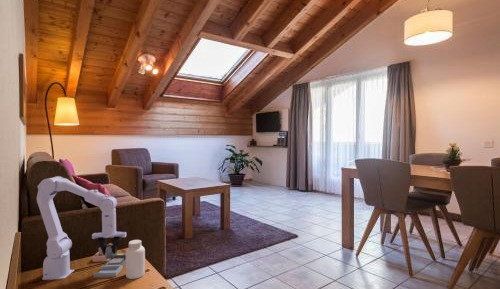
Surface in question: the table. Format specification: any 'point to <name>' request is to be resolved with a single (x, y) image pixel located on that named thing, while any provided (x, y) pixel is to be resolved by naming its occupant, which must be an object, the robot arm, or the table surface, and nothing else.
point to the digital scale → (118, 257)
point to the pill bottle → (135, 260)
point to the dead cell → (101, 252)
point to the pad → (116, 261)
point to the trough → (108, 271)
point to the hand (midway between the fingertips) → (109, 253)
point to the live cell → (109, 251)
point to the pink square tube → (99, 258)
